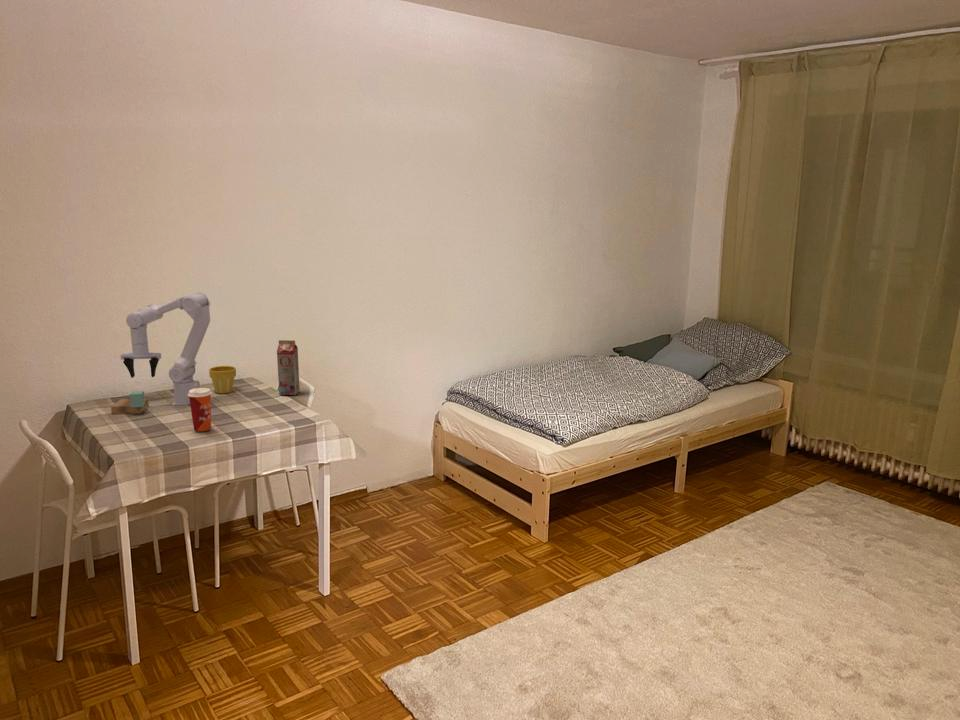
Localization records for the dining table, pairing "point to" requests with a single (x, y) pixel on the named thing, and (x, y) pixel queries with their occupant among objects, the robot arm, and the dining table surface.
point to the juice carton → (288, 367)
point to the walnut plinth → (127, 407)
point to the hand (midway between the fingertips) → (143, 376)
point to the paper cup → (200, 408)
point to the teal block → (137, 399)
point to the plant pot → (222, 378)
